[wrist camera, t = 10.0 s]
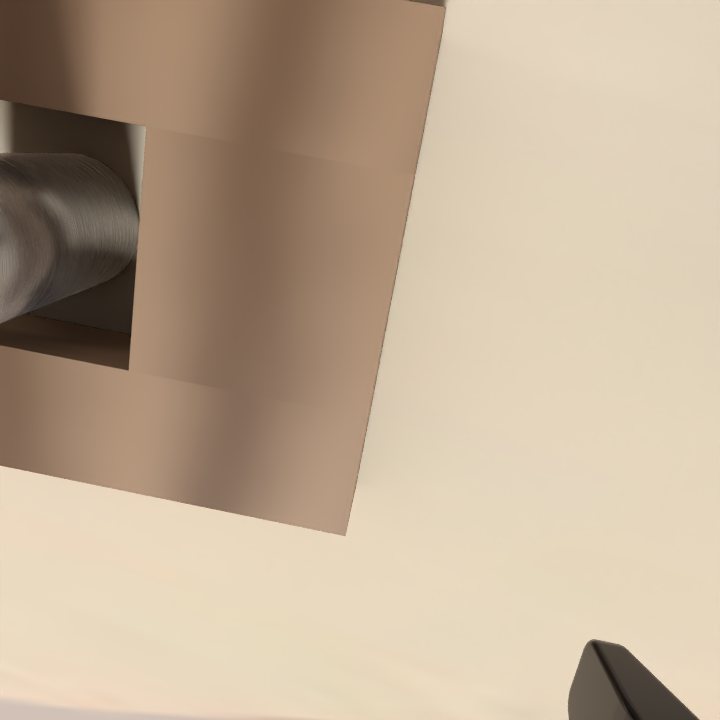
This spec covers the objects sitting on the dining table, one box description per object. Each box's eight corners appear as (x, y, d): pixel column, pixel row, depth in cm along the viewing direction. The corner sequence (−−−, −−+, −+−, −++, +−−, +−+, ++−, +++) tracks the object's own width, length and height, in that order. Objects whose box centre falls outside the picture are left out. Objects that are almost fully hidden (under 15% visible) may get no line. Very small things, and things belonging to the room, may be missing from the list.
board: (443, 30, 18) (445, 7, 16) (355, 487, 23) (345, 536, 20) (-258, -92, 19) (-378, -135, 16) (-216, 372, 23) (-305, 403, 21)
